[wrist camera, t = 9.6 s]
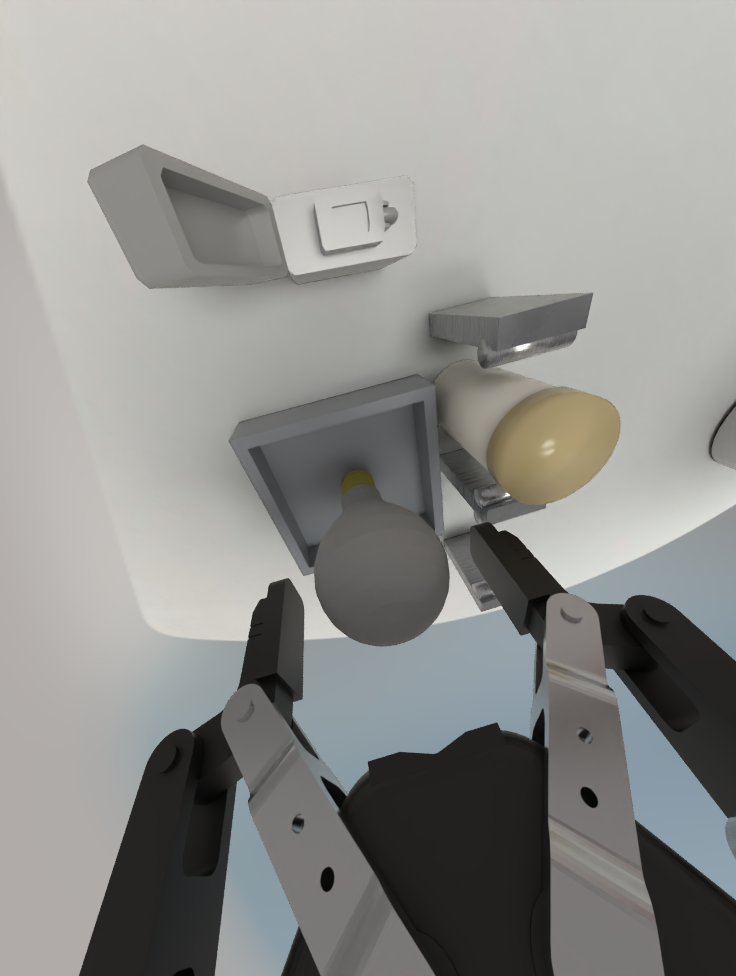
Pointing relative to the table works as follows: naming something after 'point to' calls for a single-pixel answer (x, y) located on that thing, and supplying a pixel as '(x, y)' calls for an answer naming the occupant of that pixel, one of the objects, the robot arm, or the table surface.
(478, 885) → the robot arm
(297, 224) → the lighter
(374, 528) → the light bulb
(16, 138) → the table surface
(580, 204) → the table surface
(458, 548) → the clip block
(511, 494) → the cream domed cylinder
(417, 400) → the tray
